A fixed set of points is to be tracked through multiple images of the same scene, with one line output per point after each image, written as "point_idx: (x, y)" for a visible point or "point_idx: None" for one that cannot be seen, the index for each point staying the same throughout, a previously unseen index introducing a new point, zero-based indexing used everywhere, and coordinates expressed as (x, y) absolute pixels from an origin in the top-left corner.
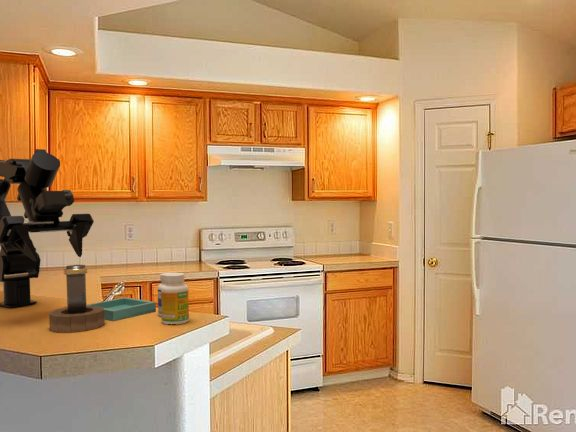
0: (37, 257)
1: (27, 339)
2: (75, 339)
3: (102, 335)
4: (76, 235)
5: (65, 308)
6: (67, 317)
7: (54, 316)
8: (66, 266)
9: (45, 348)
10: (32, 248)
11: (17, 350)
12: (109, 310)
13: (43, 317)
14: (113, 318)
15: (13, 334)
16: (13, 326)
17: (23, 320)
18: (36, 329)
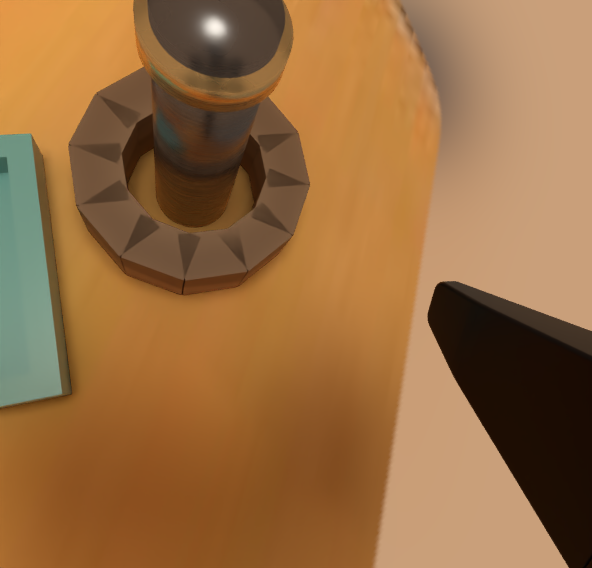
0: (444, 282)
1: (378, 152)
2: None
3: None
4: None
5: (213, 256)
6: (268, 99)
7: (301, 148)
8: (283, 26)
9: (364, 25)
10: (535, 316)
11: (422, 66)
12: (32, 162)
13: (236, 472)
14: (39, 150)
15: (397, 250)
16: (374, 378)
17: (319, 470)
18: (323, 261)
